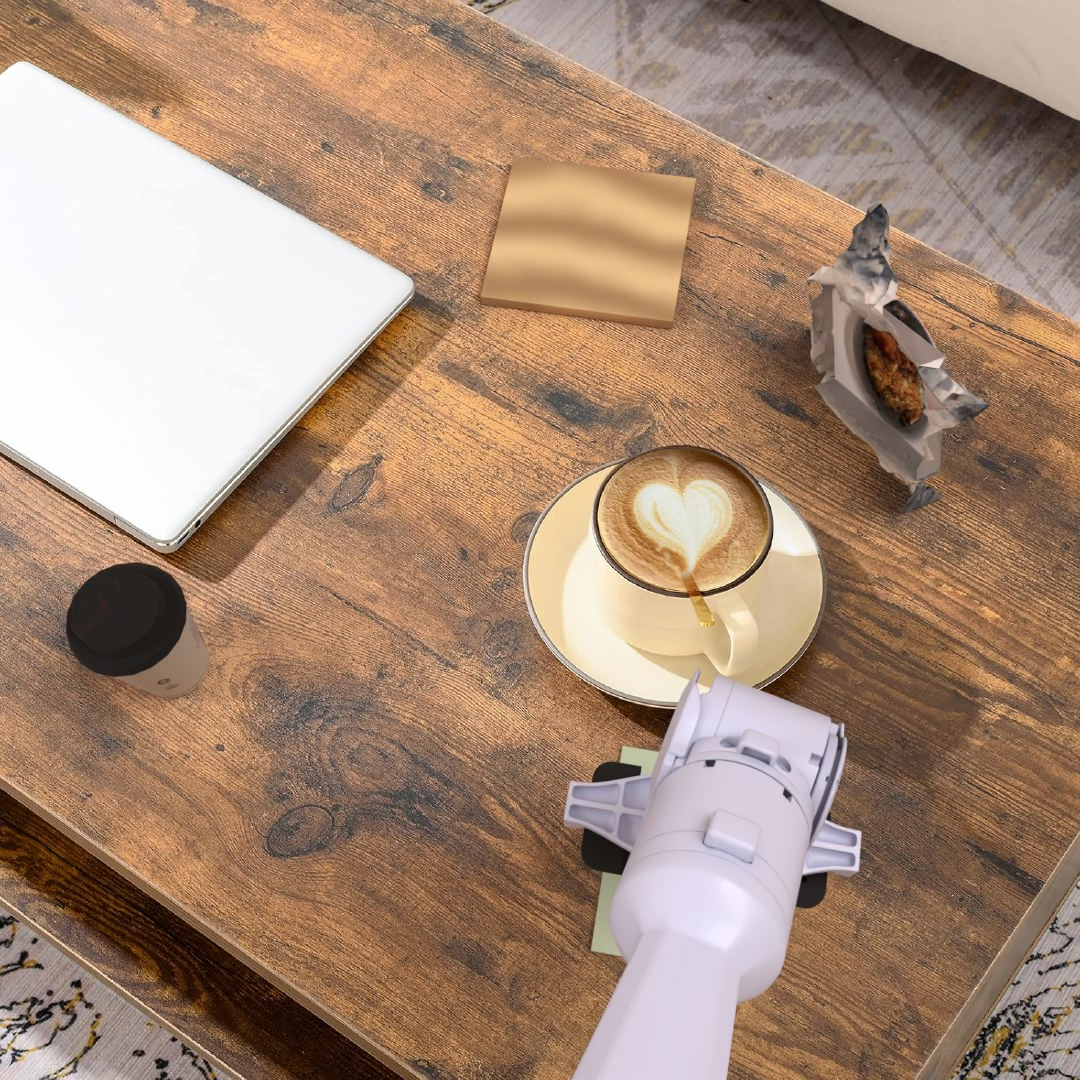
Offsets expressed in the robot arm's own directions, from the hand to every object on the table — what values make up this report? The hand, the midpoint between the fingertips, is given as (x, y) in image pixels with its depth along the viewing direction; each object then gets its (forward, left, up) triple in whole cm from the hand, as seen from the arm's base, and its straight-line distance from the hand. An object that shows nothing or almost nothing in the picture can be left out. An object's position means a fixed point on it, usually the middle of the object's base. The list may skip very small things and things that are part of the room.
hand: (695, 853), depth 66 cm
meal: (+32, -8, -3) cm, 33 cm away
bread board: (+43, +13, -3) cm, 45 cm away
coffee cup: (+7, +34, -3) cm, 35 cm away
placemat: (0, 0, -3) cm, 3 cm away
